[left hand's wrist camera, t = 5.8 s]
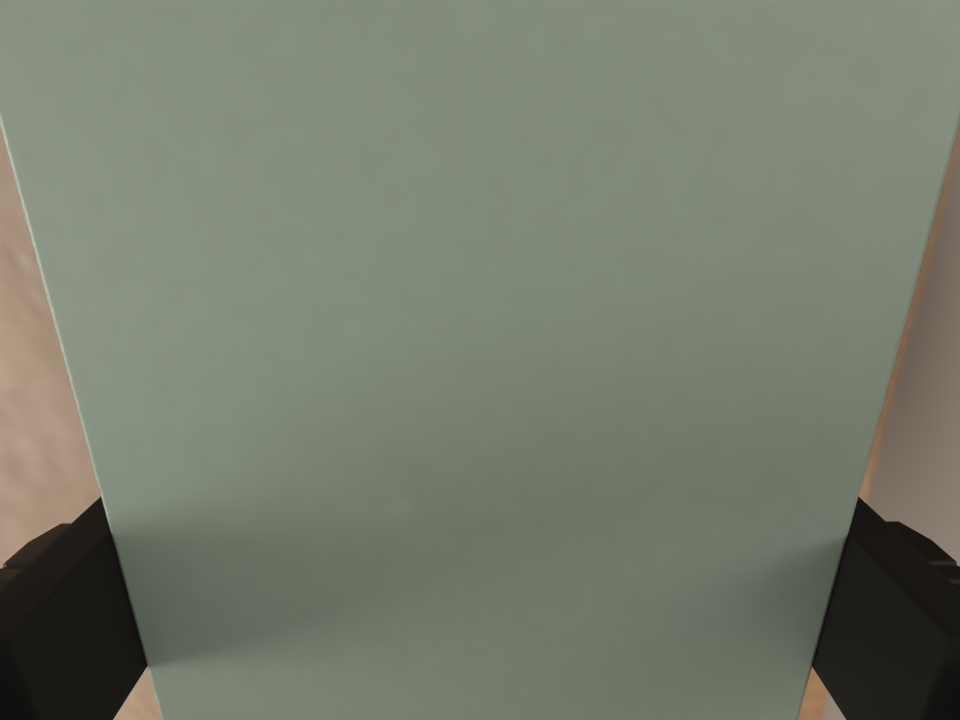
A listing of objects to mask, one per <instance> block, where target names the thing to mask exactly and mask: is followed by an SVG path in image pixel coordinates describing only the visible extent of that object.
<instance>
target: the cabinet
mask: <svg viewBox="0 0 960 720" xmlns="http://www.w3.org/2000/svg"><path fill="white" fill-rule="evenodd" d="M959 124H960V0H0V126H1V130H2V133H3V137H4V141H5V144H6V148H7V152H8V155H9V159H10V163H11V166H12V170H13V174H14V177H15V181H16V185H17V189H18V192H19V196H20V200H21V203H22V207H23V211H24V214H25V218H26V222H27V225H28V229H29V233H30V236H31V240H32V244H33V247H34V251H35V255H36V258H37V262H38V266H39V269H40V273H41V277H42V281H43V284H44V288H45V292H46V295H47V299H48V303H49V306H50V310H51V314H52V317H53V321H54V325H55V328H56V332H57V336H58V339H59V343H60V347H61V350H62V354H63V358H64V361H65V365H66V369H67V373H68V376H69V380H70V384H71V387H72V391H73V395H74V398H75V402H76V406H77V409H78V413H79V417H80V420H81V424H82V428H83V431H84V435H85V439H86V442H87V446H88V450H89V453H90V457H91V461H92V465H93V468H94V472H95V476H96V479H97V483H98V487H99V490H100V494H101V498H102V501H103V505H104V509H105V512H106V516H107V520H108V523H109V527H110V531H111V534H112V538H113V542H114V545H115V549H116V553H117V557H118V560H119V564H120V568H121V571H122V575H123V579H124V582H125V586H126V590H127V593H128V597H129V601H130V604H131V608H132V612H133V615H134V619H135V623H136V626H137V630H138V634H139V637H140V641H141V645H142V649H143V652H144V656H145V660H146V663H147V667H148V671H149V674H150V678H151V682H152V685H153V689H154V693H155V696H156V700H157V704H158V707H159V711H160V715H161V718H162V720H798V716H799V712H800V709H801V705H802V701H803V698H804V694H805V690H806V687H807V683H808V679H809V676H810V672H811V668H812V665H813V661H814V657H815V653H816V650H817V646H818V642H819V639H820V635H821V631H822V628H823V624H824V620H825V617H826V613H827V609H828V606H829V602H830V598H831V595H832V591H833V587H834V584H835V580H836V576H837V573H838V569H839V565H840V562H841V558H842V554H843V551H844V547H845V543H846V540H847V536H848V532H849V529H850V525H851V521H852V518H853V514H854V510H855V506H856V503H857V499H858V495H859V492H860V488H861V484H862V481H863V477H864V473H865V470H866V466H867V462H868V459H869V455H870V451H871V448H872V444H873V440H874V437H875V433H876V429H877V426H878V422H879V418H880V415H881V411H882V407H883V404H884V400H885V396H886V393H887V389H888V385H889V382H890V378H891V374H892V371H893V367H894V363H895V359H896V356H897V352H898V348H899V345H900V341H901V337H902V334H903V330H904V326H905V323H906V319H907V315H908V312H909V308H910V304H911V301H912V297H913V293H914V290H915V286H916V282H917V279H918V275H919V271H920V268H921V264H922V260H923V257H924V253H925V249H926V246H927V242H928V238H929V235H930V231H931V227H932V224H933V220H934V216H935V212H936V209H937V205H938V201H939V198H940V194H941V190H942V187H943V183H944V179H945V176H946V172H947V168H948V165H949V161H950V157H951V154H952V150H953V146H954V143H955V139H956V135H957V132H958V128H959Z"/></svg>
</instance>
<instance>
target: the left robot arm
mask: <svg viewBox="0 0 960 720" xmlns="http://www.w3.org/2000/svg"><path fill="white" fill-rule="evenodd" d="M146 667H147V663H146V660H145V656H144V652H143V649H142V645H141V641H140V637H139V634H138V630H137V626H136V623H135V619H134V615H133V612H132V608H131V604H130V601H129V597H128V593H127V590H126V586H125V582H124V579H123V575H122V571H121V568H120V564H119V560H118V557H117V553H116V549H115V545H114V542H113V538H112V534H111V531H110V527H109V523H108V520H107V516H106V512H105V509H104V505H103V501H102V498H101V497H100V498H99V499H98V500H97V501H96V502H94V503H93V504H92V505H91V506H90V507H89V508H88V509H87V510H86V511H85V512H84V513H83V514H81V515H80V516H79V517H78V518H77V519H76V520H75V521H74V522H73V523H72V524H60V525H58V526H56V527H54V528H53V529H51V530H49V531H47V532H46V533H44V534H42V535H40V536H39V537H37V538H35V539H33V540H32V541H30V542H28V543H27V544H26V545H25V546H24V547H22V548H21V549H20V550H19V551H18V552H17V553H16V554H14V555H13V556H12V557H11V558H10V559H9V560H8V561H6V562H5V563H4V564H3V568H2V569H0V720H113V719H114V717H115V716H116V714H117V713H118V711H119V709H120V708H121V706H122V705H123V703H124V702H125V700H126V698H127V697H128V695H129V694H130V692H131V691H132V689H133V688H134V686H135V684H136V683H137V681H138V680H139V678H140V677H141V675H142V674H143V672H144V670H145V669H146ZM812 667H813V668H814V670H815V671H816V673H817V674H818V676H819V678H820V679H821V681H822V682H823V684H824V685H825V687H826V689H827V690H828V692H829V693H830V695H831V696H832V698H833V699H834V701H835V703H836V704H837V706H838V707H839V709H840V710H841V712H842V713H843V715H844V717H845V718H846V720H960V566H957V564H956V561H955V560H954V559H953V558H951V557H950V556H949V555H948V554H947V553H946V552H945V551H943V550H942V549H941V548H940V547H939V546H938V545H936V544H935V543H934V542H933V541H932V540H930V539H929V538H927V537H925V536H923V535H921V534H920V533H918V532H916V531H914V530H913V529H911V528H909V527H907V526H906V525H904V524H902V523H900V522H886V521H884V520H883V519H882V518H881V517H880V516H879V515H878V514H877V513H876V512H875V511H874V510H872V509H871V508H870V507H869V506H868V505H867V504H866V503H865V502H864V501H863V500H862V499H861V498H859V497H858V499H857V503H856V506H855V510H854V514H853V518H852V521H851V525H850V529H849V532H848V536H847V540H846V543H845V547H844V551H843V554H842V558H841V562H840V565H839V569H838V573H837V576H836V580H835V584H834V587H833V591H832V595H831V598H830V602H829V606H828V609H827V613H826V617H825V620H824V624H823V628H822V631H821V635H820V639H819V642H818V646H817V650H816V653H815V657H814V661H813V665H812Z"/></svg>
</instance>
